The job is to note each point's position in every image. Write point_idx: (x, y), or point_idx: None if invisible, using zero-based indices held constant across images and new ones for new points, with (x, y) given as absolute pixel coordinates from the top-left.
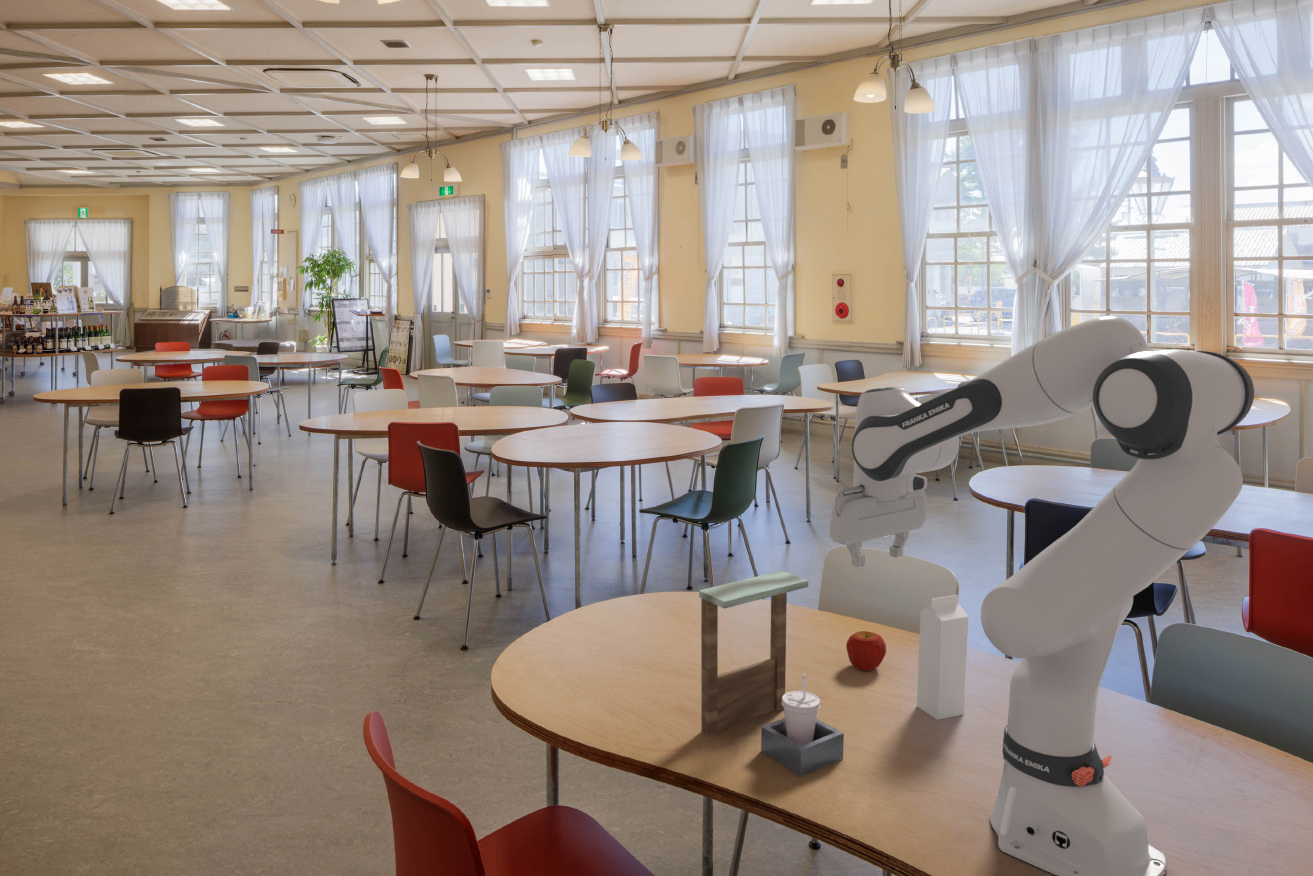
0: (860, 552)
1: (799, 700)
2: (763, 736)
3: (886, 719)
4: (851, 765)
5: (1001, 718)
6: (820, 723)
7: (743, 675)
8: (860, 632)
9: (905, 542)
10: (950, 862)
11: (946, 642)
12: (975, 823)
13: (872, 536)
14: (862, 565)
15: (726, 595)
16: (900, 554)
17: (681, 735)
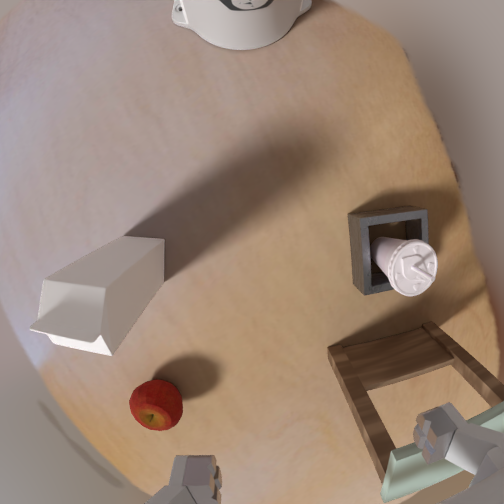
0: (476, 437)
1: (422, 264)
2: None
3: (226, 271)
4: (348, 196)
5: (88, 206)
6: (368, 256)
7: (412, 367)
8: (155, 426)
9: (151, 498)
10: (365, 21)
11: (111, 270)
12: (300, 41)
13: (475, 498)
14: (432, 409)
15: None
16: (189, 460)
17: (447, 332)
